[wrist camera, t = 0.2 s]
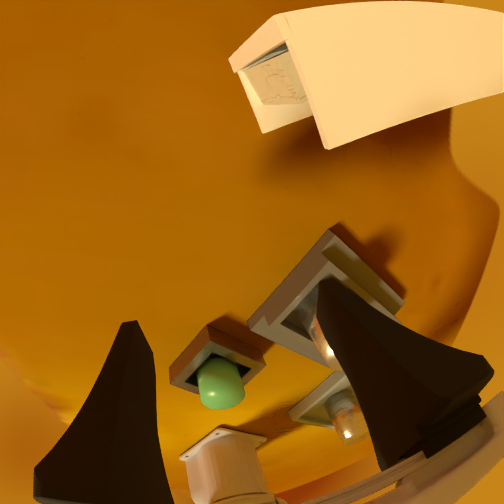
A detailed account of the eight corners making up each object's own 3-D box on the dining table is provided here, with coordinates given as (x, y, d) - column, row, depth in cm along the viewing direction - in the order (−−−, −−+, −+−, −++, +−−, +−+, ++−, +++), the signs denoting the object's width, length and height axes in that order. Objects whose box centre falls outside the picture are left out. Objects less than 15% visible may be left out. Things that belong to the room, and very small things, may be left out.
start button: (221, 389, 26) (227, 413, 23) (188, 377, 24) (191, 402, 22) (245, 366, 25) (253, 390, 23) (212, 352, 24) (218, 377, 21)
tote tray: (330, 421, 37) (334, 429, 36) (287, 412, 33) (291, 420, 32) (379, 380, 35) (384, 387, 34) (343, 363, 31) (348, 371, 30)
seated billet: (316, 328, 26) (347, 376, 20) (286, 310, 24) (315, 362, 19) (348, 295, 25) (385, 338, 20) (319, 273, 23) (358, 318, 18)
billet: (335, 411, 35) (354, 446, 29) (317, 406, 33) (337, 444, 28) (358, 392, 34) (379, 426, 29) (341, 386, 32) (364, 424, 27)
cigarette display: (259, 134, 19) (325, 151, 11) (227, 58, 16) (273, 14, 8) (451, 77, 20) (533, 85, 12) (435, 22, 17) (516, 16, 9)
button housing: (221, 387, 28) (224, 403, 26) (169, 367, 25) (170, 384, 24) (260, 350, 27) (266, 365, 25) (206, 324, 24) (209, 340, 22)
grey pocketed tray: (333, 364, 31) (344, 380, 28) (246, 321, 25) (254, 341, 23) (398, 296, 29) (413, 310, 26) (328, 229, 23) (344, 242, 21)
